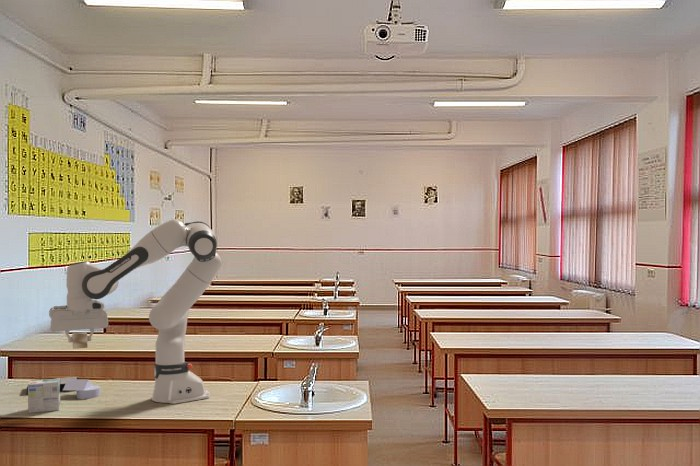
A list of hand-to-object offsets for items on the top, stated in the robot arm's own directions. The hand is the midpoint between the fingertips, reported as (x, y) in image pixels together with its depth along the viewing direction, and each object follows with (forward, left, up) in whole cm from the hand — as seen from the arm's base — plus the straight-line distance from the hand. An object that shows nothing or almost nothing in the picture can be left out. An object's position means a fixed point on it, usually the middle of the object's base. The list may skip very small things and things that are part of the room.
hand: (79, 341), depth 250 cm
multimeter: (+9, -37, -26) cm, 46 cm away
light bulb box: (+12, -3, -25) cm, 28 cm away
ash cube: (0, 0, -2) cm, 2 cm away
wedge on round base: (-2, -19, -25) cm, 32 cm away
